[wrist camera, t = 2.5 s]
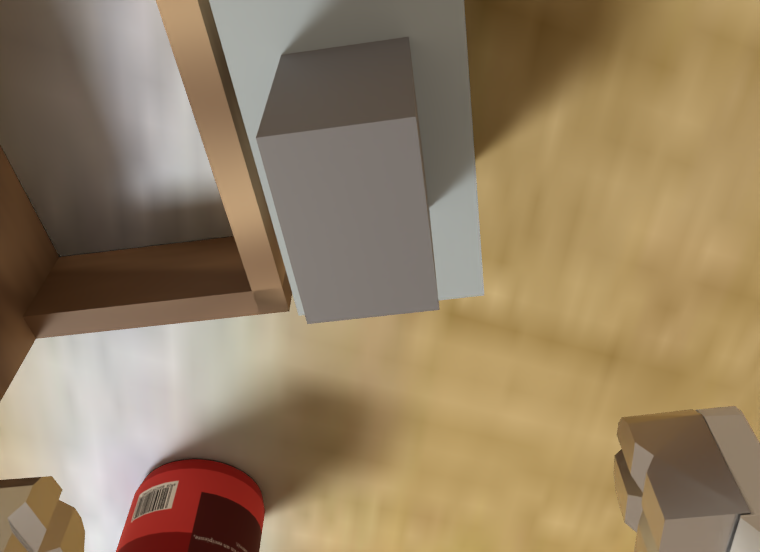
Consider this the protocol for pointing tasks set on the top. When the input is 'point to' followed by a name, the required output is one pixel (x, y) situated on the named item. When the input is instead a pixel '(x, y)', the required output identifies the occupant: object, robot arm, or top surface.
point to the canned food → (194, 510)
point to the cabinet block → (361, 148)
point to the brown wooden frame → (154, 263)
